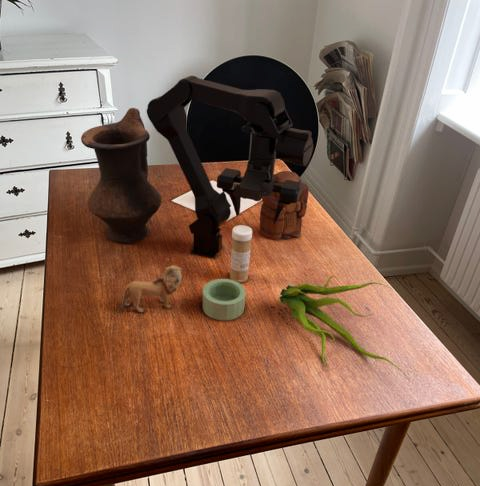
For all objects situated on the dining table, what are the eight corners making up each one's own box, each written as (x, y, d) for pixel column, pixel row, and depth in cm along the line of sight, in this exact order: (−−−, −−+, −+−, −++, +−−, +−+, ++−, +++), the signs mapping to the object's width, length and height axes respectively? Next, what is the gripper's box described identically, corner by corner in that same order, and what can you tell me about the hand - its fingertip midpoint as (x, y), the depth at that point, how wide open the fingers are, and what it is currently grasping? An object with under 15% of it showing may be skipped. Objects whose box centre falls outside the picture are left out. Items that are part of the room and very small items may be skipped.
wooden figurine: (262, 241, 135) (269, 178, 124) (257, 229, 140) (263, 167, 129) (304, 239, 138) (314, 177, 126) (297, 227, 142) (307, 167, 131)
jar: (196, 314, 110) (196, 298, 107) (211, 290, 117) (211, 274, 114) (236, 324, 108) (237, 308, 105) (249, 300, 115) (250, 284, 112)
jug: (145, 259, 125) (137, 139, 106) (79, 244, 128) (59, 126, 109) (176, 221, 141) (174, 111, 122) (116, 208, 144) (105, 100, 125)
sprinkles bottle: (244, 271, 124) (249, 223, 115) (250, 282, 120) (255, 233, 112) (227, 273, 122) (230, 225, 114) (232, 284, 119) (235, 235, 111)
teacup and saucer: (207, 191, 156) (207, 179, 153) (227, 199, 153) (228, 187, 150) (189, 201, 150) (189, 188, 148) (209, 209, 147) (210, 197, 144)
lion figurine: (177, 291, 115) (177, 258, 110) (186, 304, 112) (186, 271, 106) (115, 305, 110) (111, 272, 104) (121, 320, 106) (117, 286, 101)
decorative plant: (320, 399, 93) (334, 341, 84) (275, 301, 115) (283, 247, 105) (406, 386, 97) (430, 329, 87) (347, 294, 119) (361, 241, 109)
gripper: (208, 159, 104) (207, 226, 114) (296, 176, 100) (286, 243, 110) (226, 142, 112) (223, 205, 122) (307, 157, 108) (297, 221, 118)
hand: (256, 219), depth 118 cm, fingers open, 9 cm apart
